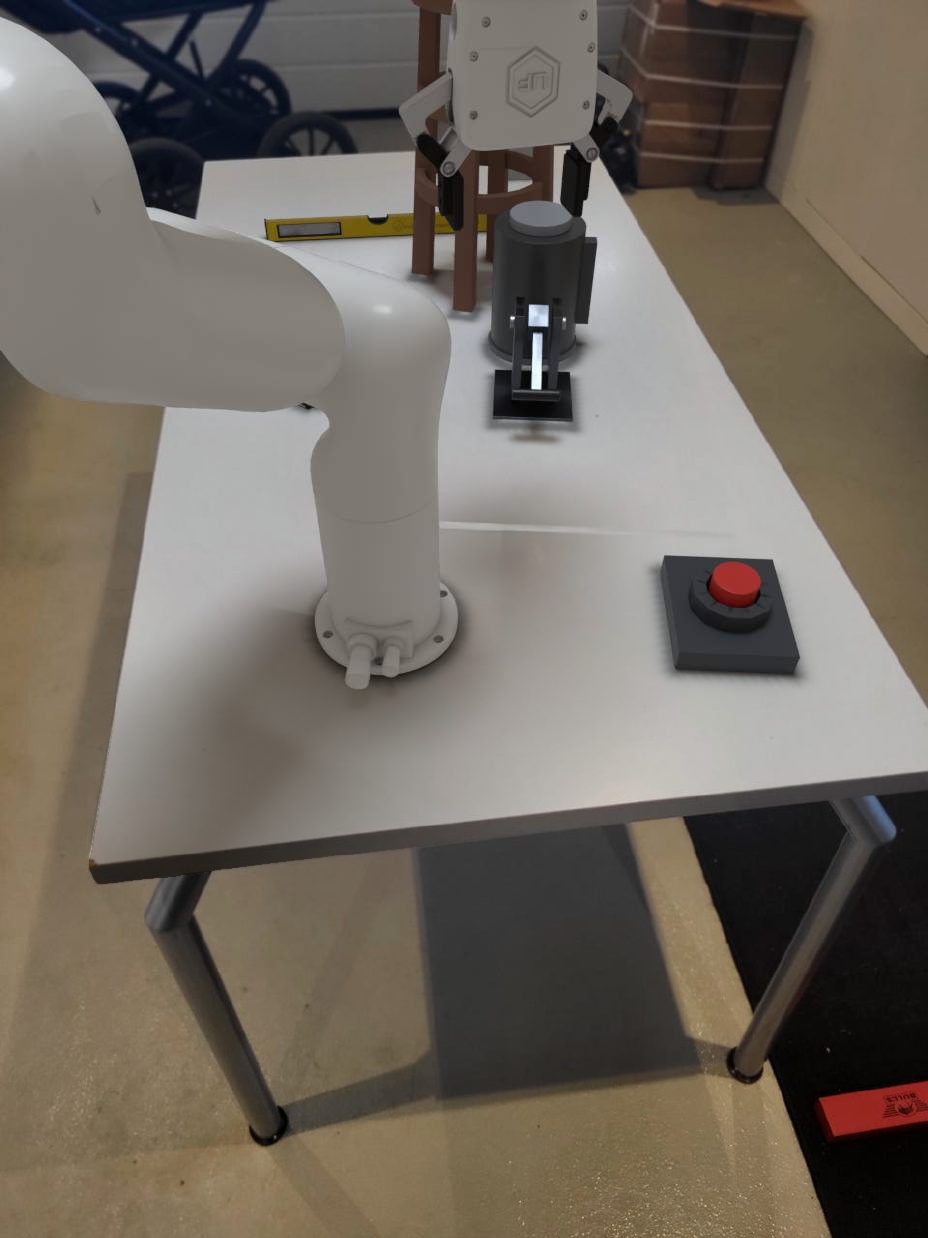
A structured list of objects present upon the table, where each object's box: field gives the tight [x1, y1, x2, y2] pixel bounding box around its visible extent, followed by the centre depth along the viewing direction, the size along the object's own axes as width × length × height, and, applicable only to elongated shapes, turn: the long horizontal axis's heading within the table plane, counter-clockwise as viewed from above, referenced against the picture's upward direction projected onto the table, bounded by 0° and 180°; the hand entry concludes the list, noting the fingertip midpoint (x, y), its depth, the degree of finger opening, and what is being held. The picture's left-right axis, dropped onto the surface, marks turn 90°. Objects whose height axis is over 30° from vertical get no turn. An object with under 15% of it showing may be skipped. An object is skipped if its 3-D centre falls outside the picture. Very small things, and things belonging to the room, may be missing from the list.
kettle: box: [487, 201, 598, 367], centre depth 106 cm, size 13×12×17 cm
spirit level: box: [263, 211, 487, 242], centre depth 133 cm, size 33×1×3 cm, turn 97°
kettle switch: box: [512, 305, 560, 401], centre depth 94 cm, size 11×5×2 cm, turn 177°
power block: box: [659, 554, 801, 675], centre depth 78 cm, size 12×10×4 cm
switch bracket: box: [492, 297, 574, 423], centre depth 99 cm, size 10×9×12 cm
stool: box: [411, 0, 555, 313], centre depth 110 cm, size 20×35×20 cm
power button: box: [709, 562, 761, 608], centre depth 76 cm, size 4×4×2 cm
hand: (512, 216), depth 69 cm, fingers open, 9 cm apart
